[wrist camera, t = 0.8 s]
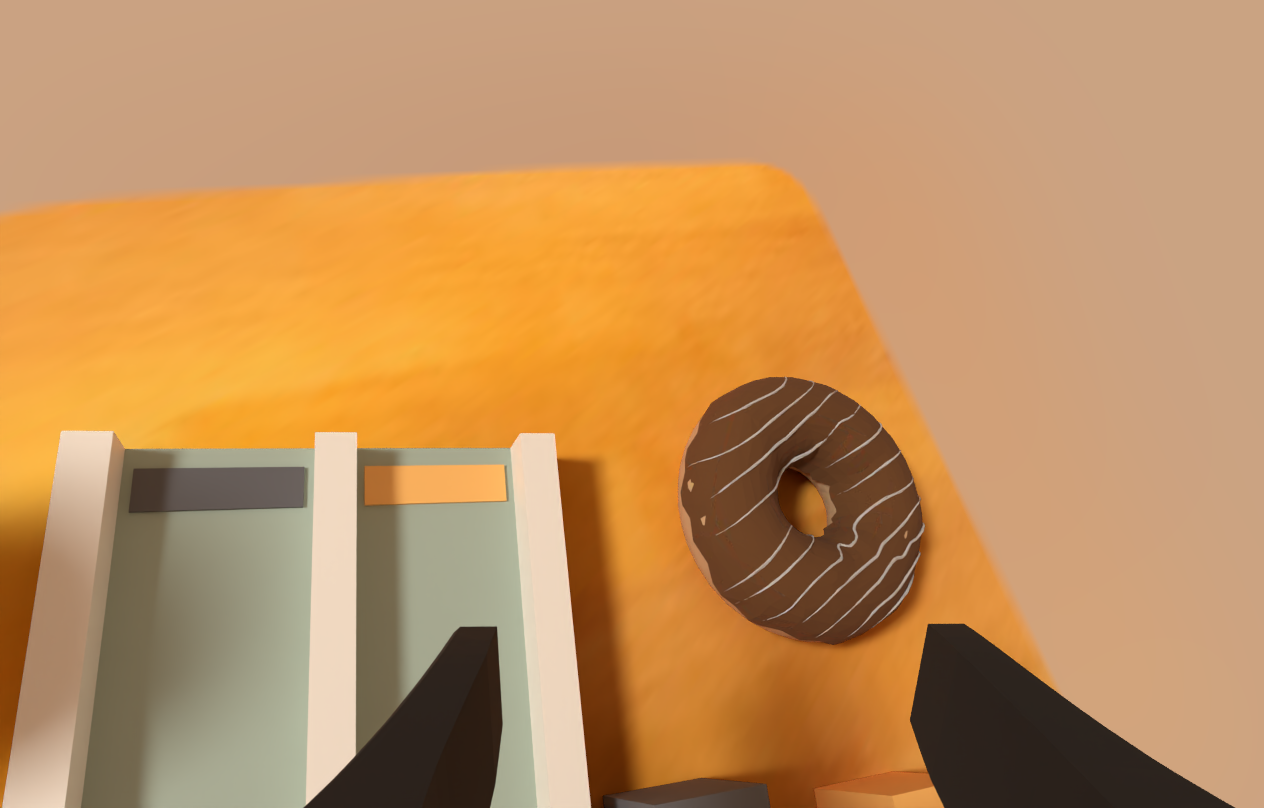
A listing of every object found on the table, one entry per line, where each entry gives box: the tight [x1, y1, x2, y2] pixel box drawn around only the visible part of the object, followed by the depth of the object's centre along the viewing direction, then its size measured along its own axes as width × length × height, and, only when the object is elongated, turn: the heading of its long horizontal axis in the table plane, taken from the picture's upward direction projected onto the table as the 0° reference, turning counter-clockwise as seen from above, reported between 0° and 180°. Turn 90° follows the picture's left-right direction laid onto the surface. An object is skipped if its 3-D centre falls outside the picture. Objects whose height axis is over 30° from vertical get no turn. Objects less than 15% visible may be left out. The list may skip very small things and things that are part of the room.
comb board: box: [2, 431, 591, 808], centre depth 21 cm, size 15×14×2 cm
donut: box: [678, 377, 925, 645], centre depth 29 cm, size 11×11×4 cm
